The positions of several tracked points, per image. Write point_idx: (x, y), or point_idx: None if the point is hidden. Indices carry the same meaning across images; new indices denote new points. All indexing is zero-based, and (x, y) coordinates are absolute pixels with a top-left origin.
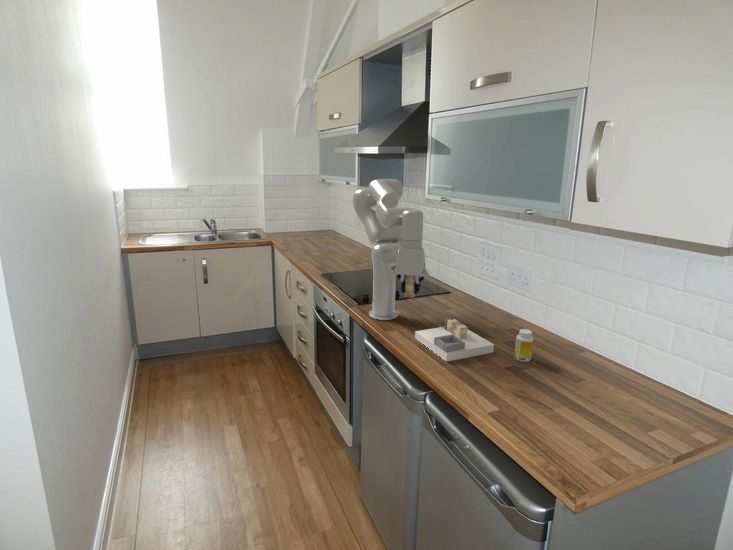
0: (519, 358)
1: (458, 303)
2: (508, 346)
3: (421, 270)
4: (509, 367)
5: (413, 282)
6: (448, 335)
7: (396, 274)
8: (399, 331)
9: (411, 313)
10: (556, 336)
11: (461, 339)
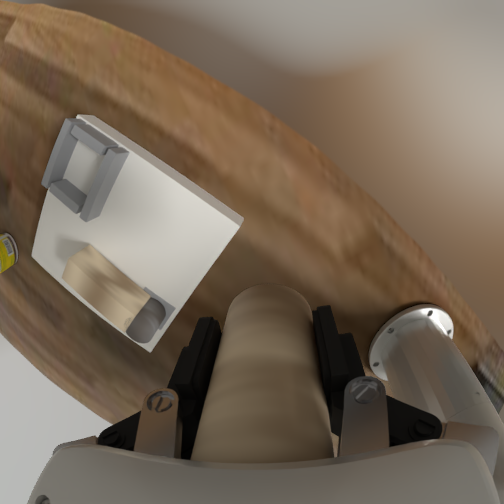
0: (3, 234)
1: None
2: (45, 296)
3: (33, 493)
4: (7, 192)
5: (208, 397)
6: (89, 204)
7: (450, 435)
8: (323, 252)
9: None
10: (37, 368)
11: (86, 243)
